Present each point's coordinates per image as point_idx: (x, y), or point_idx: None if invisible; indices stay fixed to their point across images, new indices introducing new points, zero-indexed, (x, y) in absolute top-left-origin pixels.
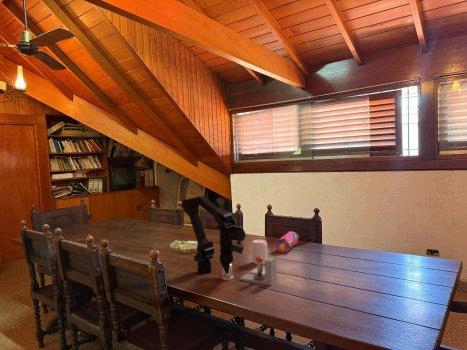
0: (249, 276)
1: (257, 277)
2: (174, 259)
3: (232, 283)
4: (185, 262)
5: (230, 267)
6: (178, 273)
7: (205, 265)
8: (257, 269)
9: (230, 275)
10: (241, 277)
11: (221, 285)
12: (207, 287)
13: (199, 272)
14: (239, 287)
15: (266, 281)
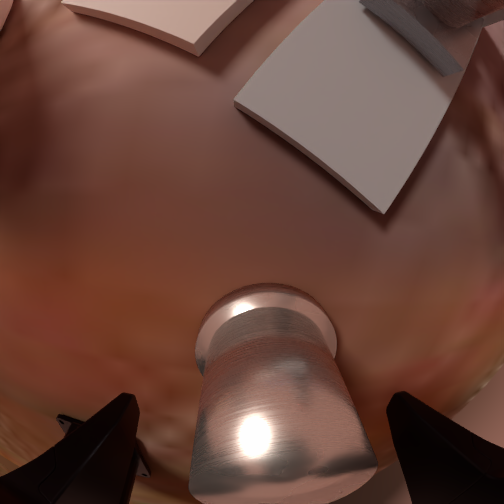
0: (354, 85)
1: (468, 48)
2: (20, 458)
3: (414, 299)
4: (27, 451)
5: (358, 421)
6: (149, 501)
7: (122, 492)
8: (495, 5)
9: (325, 343)
10: (366, 196)
11: (407, 376)
12: (388, 433)
13: (143, 472)
14: (488, 245)
15: (482, 24)
